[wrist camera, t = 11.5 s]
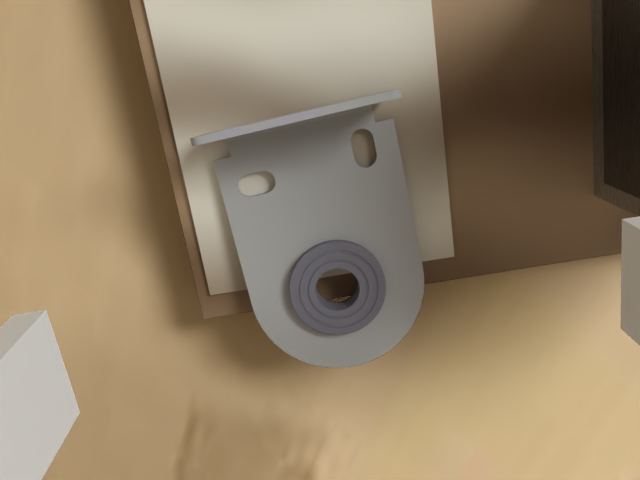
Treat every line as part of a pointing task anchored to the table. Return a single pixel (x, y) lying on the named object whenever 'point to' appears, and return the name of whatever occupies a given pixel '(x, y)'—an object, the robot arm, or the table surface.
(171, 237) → the table surface
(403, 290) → the bracket
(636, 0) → the grey box
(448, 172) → the brown wooden flat board
